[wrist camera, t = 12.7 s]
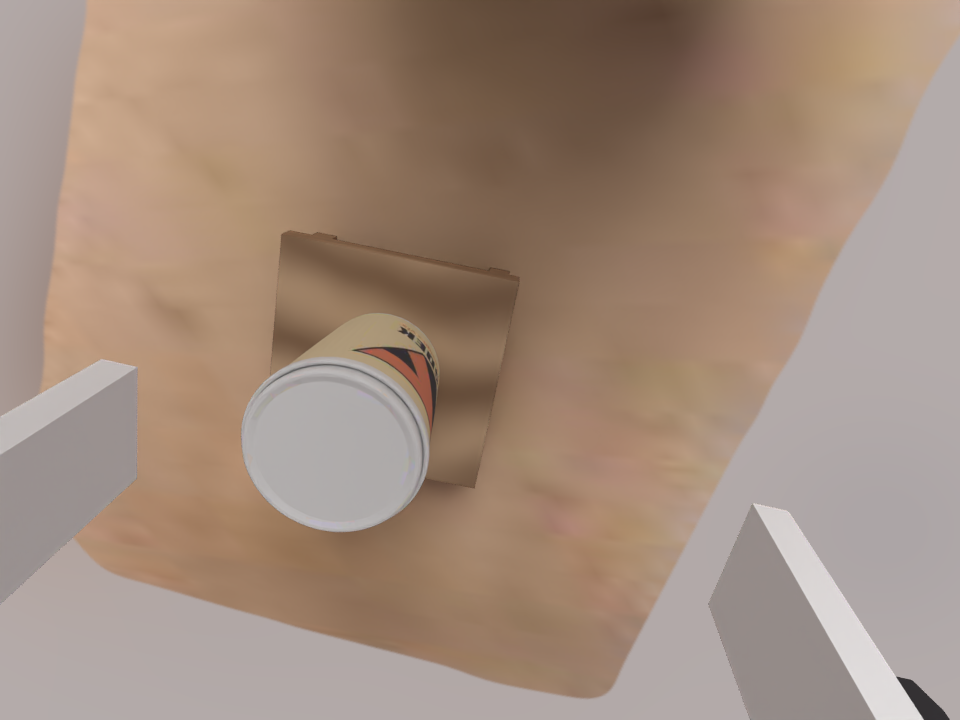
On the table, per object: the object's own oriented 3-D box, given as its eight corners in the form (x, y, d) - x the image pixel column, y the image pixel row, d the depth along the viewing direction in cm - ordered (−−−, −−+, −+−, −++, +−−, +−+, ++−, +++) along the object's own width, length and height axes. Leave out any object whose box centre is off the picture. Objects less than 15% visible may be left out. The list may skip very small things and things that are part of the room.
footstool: (309, 222, 44) (281, 234, 39) (519, 264, 44) (519, 282, 39) (291, 413, 49) (264, 446, 44) (479, 451, 50) (474, 488, 44)
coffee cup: (473, 409, 42) (454, 510, 31) (346, 448, 44) (286, 557, 33) (421, 279, 40) (380, 338, 28) (288, 326, 41) (200, 399, 30)
